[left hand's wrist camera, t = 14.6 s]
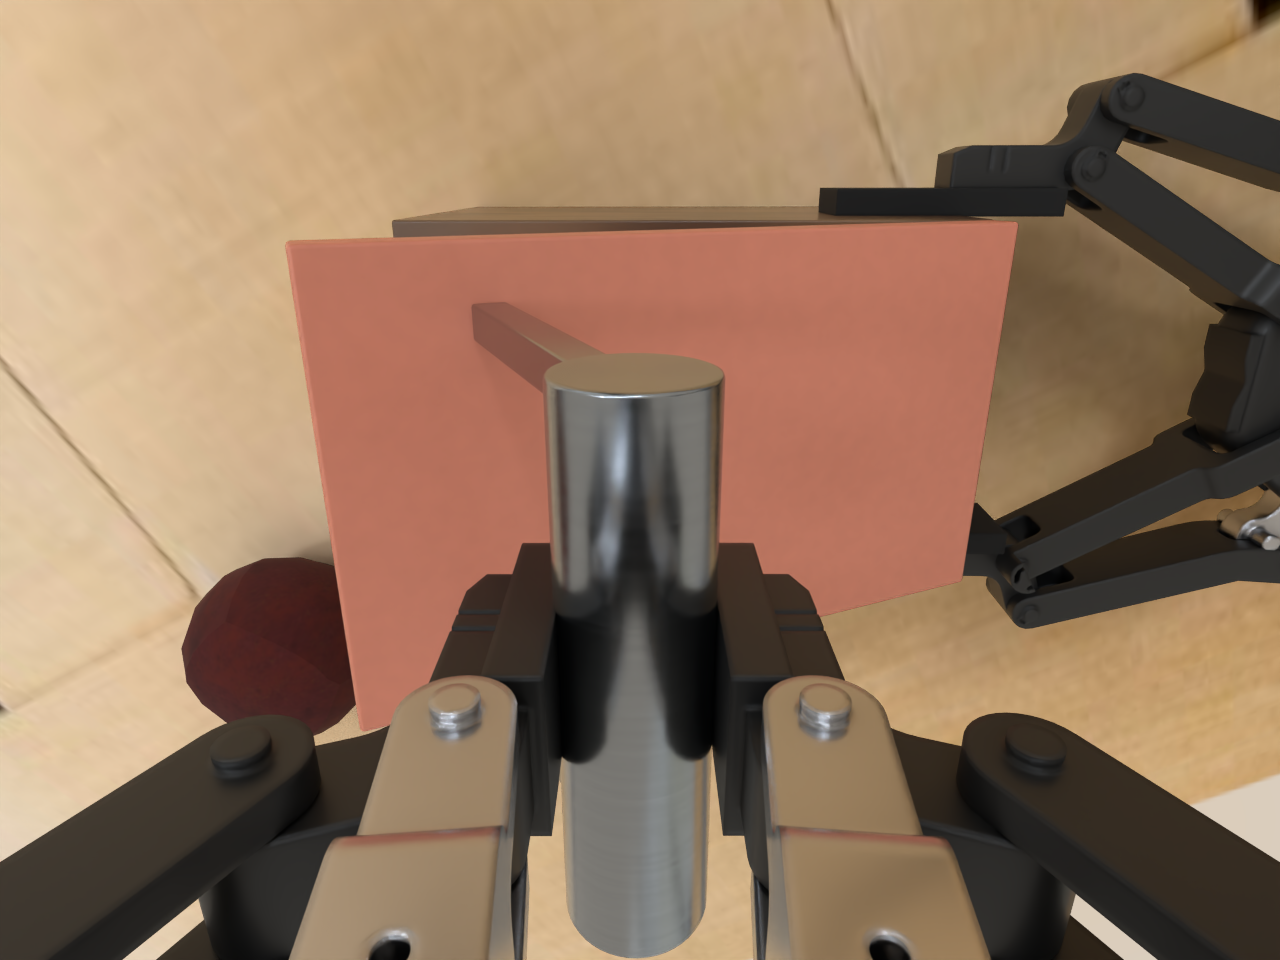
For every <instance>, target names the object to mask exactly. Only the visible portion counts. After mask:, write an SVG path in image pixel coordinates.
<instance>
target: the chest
mask: <svg viewBox="0 0 1280 960" xmlns="http://www.w3.org/2000/svg"><path fill="white" fill-rule="evenodd" d="M818 211H819V207H475V208H468V209H462V210H456V211H449V212H443V213H437V214H430V215H424V216H417V217H411V218H405V219H398V220H393V221H392V227H393V237H394V238H398V237H432V236H466V235H500V234H535V233H569V232H603V231H637V230H672V229H706V228H740V227H774V226H809V225H843V224H877V223H911V222H946V221H980V220H991V219H983V218H975V217H967V216H834V215H829V214H825V213H820V212H818ZM993 221H994V220H993Z"/></svg>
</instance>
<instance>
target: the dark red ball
mask: <svg viewBox="0 0 1280 960" xmlns="http://www.w3.org/2000/svg"><path fill="white" fill-rule="evenodd" d="M181 649H182V655H183V661H184V667H185V674H186V682H187V684H188V685H189V687H190V688H191V689H192V691H193V692H194V693H195V695H196V696H197V698H198V699H199V700H200V702H201V703H202V704H203V705H204V706H206V707H207V708H208V709H210V710H211V711H212V712H213V713H215V714H216V715H217V716H219V717H220V718H221V719H223V720H224V721H225V722H227V723H230V722H232V721H235V720H239V719H243V718H247V717H252V716H258V715H284V716H290V717H293V718H296V719H298V720H300V721H302V722H304V723H305V724H306V725H307V726H308V727H309V728H310V729H311V731H312V733H313V736H314V735H317V734H320V733H322V732H324V731H325V730H327V729H329V728H330V727H332V726H334V725H335V724H337V723H338V722H339V721H340V720H341V719H342V718H343V717H344V716H345V715H346V714H347V713H348V712H349V711H350V710H351V709H352V708H353V707H354V706H355V705H356V701H355V695H354V688H353V682H352V675H351V669H350V662H349V656H348V649H347V643H346V636H345V630H344V623H343V617H342V610H341V604H340V598H339V591H338V585H337V578H336V572H335V566H332V565H328V564H324V563H320V562H316V561H312V560H308V559H304V558H301V557H300V558H267V559H262V560H259V561H257V562H254V563H252V564H249V565H247V566H244V567H242V568H239V569H236V570H235V571H233V572H231V573H229V574H227V575H225V576H224V577H223V578H222V579H221V580H220V581H219V582H218V583H217V584H216V585H215V586H214V587H213V588H212V589H211V590H210V591H209V592H208V593H207V594H206V595H205V596H204V598H203V599H202V600H201V601H200V603H199V604H198V605H197V606H196V607H195V610H194V613H193V616H192V619H191V622H190V625H189V628H188V631H187V634H186V637H185V640H184V642H183V645H182V648H181Z"/></svg>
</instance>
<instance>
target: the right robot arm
mask: <svg viewBox="0 0 1280 960" xmlns="http://www.w3.org/2000/svg"><path fill="white" fill-rule="evenodd" d="M1067 111H1068V117H1067V119H1066V121H1065V123H1064V124H1063V126H1062V128H1061V130H1060V131H1059V133H1058V135H1057V136H1056V137H1055V138H1054V139H1053V140H1051V141H1050V142H1048V143H1047V144H1045V145H972V146H963V147H955V148H953V149H951V150H948V151H946V152H943V153H941V154H938V161H937V169H936V177H935V186H934V188H820V197H819V211H818V212H820V213H825V214H829V215H834V216H1064V210H1065V205H1066V204H1068V205H1069V206H1071V207H1072V208H1074V209H1075V210H1077V211H1078V212H1080V213H1081V214H1083V215H1084V216H1086V217H1087V218H1089V219H1090V220H1091V221H1093V222H1094V223H1096V224H1097V225H1099V226H1100V227H1102V228H1103V229H1105V230H1106V231H1108V232H1109V233H1111V234H1112V235H1114V236H1115V237H1117V238H1118V239H1119V240H1121V241H1122V242H1124V243H1125V244H1127V245H1128V246H1130V247H1131V248H1133V249H1134V250H1136V251H1137V252H1139V253H1140V254H1142V255H1143V256H1145V257H1146V258H1148V259H1149V260H1150V261H1152V262H1153V263H1155V264H1156V265H1158V266H1159V267H1161V268H1162V269H1164V270H1165V271H1167V272H1168V273H1170V274H1171V275H1173V276H1174V277H1176V278H1177V279H1178V280H1180V281H1181V282H1183V283H1184V284H1186V285H1187V286H1189V287H1190V289H1189V290H1190V292H1192V293H1193V294H1194V295H1196V296H1197V297H1199V298H1200V299H1201V300H1203V301H1204V302H1206V303H1207V304H1209V305H1210V306H1212V307H1213V308H1215V309H1216V310H1218V311H1219V312H1221V313H1222V314H1224V316H1223V317H1222V319H1221V320H1220V322H1219V324H1210V325H1209V329H1208V333H1207V337H1206V341H1205V345H1204V365H1205V369H1204V373H1203V374H1202V376H1201V378H1200V380H1199V382H1198V384H1197V386H1196V388H1195V390H1194V391H1193V393H1192V397H1191V401H1190V405H1189V409H1188V413H1187V415H1188V416H1191V417H1193V418H1191V419H1189V420H1186V421H1184V422H1182V423H1180V424H1178V425H1176V426H1174V427H1172V428H1170V429H1168V430H1166V431H1164V432H1161V433H1160V434H1158V435H1157V436H1156V437H1155V438H1154V441H1153V444H1152V445H1151V446H1149V447H1147V448H1145V449H1143V450H1141V451H1139V452H1137V453H1135V454H1133V455H1131V456H1129V457H1126V458H1124V459H1122V460H1120V461H1118V462H1116V463H1114V464H1112V465H1110V466H1108V467H1105V468H1103V469H1101V470H1099V471H1097V472H1095V473H1093V474H1091V475H1089V476H1087V477H1085V478H1082V479H1080V480H1078V481H1076V482H1074V483H1072V484H1070V485H1068V486H1066V487H1064V488H1062V489H1059V490H1057V491H1055V492H1053V493H1051V494H1049V495H1047V496H1045V497H1043V498H1041V499H1038V500H1036V501H1034V502H1032V503H1030V504H1028V505H1026V506H1024V507H1022V508H1020V509H1018V510H1015V511H1013V512H1011V513H1009V514H1007V515H1005V516H1003V517H1001V518H999V519H997V520H993V519H992V518H991V517H990V516H989V515H988V514H987V512H986V511H985V510H984V509H983V508H982V507H981V506H980V505H979V504H978V503H974V507H973V513H972V520H971V526H970V532H969V538H968V545H967V551H966V557H965V564H964V570H963V576H987V579H986V586H987V589H988V590H989V592H990V593H991V594H992V595H993V597H994V598H995V599H996V600H997V602H998V603H999V604H1000V606H1001V607H1002V608H1003V609H1004V611H1005V612H1006V613H1007V614H1008V616H1009V617H1010V618H1011V619H1012V621H1013V622H1014V623H1015V624H1016V625H1017V626H1019V627H1021V628H1024V629H1028V628H1035V627H1040V626H1044V625H1048V624H1053V623H1057V622H1061V621H1066V620H1070V619H1074V618H1079V617H1083V616H1087V615H1092V614H1096V613H1100V612H1105V611H1109V610H1113V609H1118V608H1122V607H1126V606H1131V605H1135V604H1139V603H1144V602H1148V601H1152V600H1157V599H1161V598H1165V597H1170V596H1174V595H1178V594H1183V593H1187V592H1191V591H1196V590H1200V589H1204V588H1209V587H1213V586H1217V585H1222V584H1226V583H1230V582H1235V581H1252V582H1267V583H1280V265H1279V264H1276V263H1274V262H1271V261H1270V260H1268V259H1266V258H1265V257H1264V256H1262V255H1261V254H1259V253H1258V252H1256V251H1255V250H1253V249H1252V248H1251V247H1249V246H1248V245H1246V244H1245V243H1243V242H1242V241H1241V240H1239V239H1238V238H1236V237H1235V236H1233V235H1232V234H1231V233H1229V232H1228V231H1226V230H1225V229H1223V228H1222V227H1221V226H1219V225H1218V224H1216V223H1215V222H1213V221H1212V220H1211V219H1209V218H1208V217H1206V216H1205V215H1203V214H1202V213H1201V212H1199V211H1198V210H1196V209H1195V208H1193V207H1192V206H1191V205H1189V204H1188V203H1186V202H1185V201H1183V200H1182V199H1181V198H1179V197H1178V196H1176V195H1175V194H1173V193H1172V192H1171V191H1169V190H1168V189H1166V188H1165V187H1163V186H1162V185H1161V184H1159V183H1158V182H1156V181H1155V180H1153V179H1152V178H1151V177H1149V176H1148V175H1146V174H1145V173H1143V172H1142V171H1141V170H1139V169H1138V168H1136V167H1135V166H1133V165H1132V164H1130V163H1129V162H1128V161H1126V160H1125V159H1123V158H1122V157H1120V156H1119V155H1118V154H1116V151H1117V149H1118V148H1119V146H1120V144H1121V142H1122V141H1125V142H1128V143H1131V144H1134V145H1137V146H1140V147H1143V148H1146V149H1149V150H1152V151H1155V152H1158V153H1161V154H1164V155H1167V156H1170V157H1173V158H1176V159H1179V160H1182V161H1185V162H1188V163H1191V164H1194V165H1197V166H1200V167H1203V168H1206V169H1209V170H1212V171H1215V172H1218V173H1221V174H1224V175H1227V176H1230V177H1233V178H1236V179H1239V180H1242V181H1245V182H1248V183H1251V184H1254V185H1257V186H1260V187H1263V188H1266V189H1270V190H1274V191H1278V192H1280V121H1279V120H1276V119H1273V118H1270V117H1267V116H1264V115H1261V114H1258V113H1255V112H1252V111H1250V110H1247V109H1244V108H1241V107H1238V106H1235V105H1232V104H1229V103H1226V102H1223V101H1220V100H1217V99H1214V98H1211V97H1208V96H1206V95H1203V94H1200V93H1197V92H1194V91H1191V90H1188V89H1185V88H1182V87H1179V86H1176V85H1173V84H1170V83H1167V82H1164V81H1162V80H1159V79H1156V78H1153V77H1150V76H1147V75H1144V74H1138V73H1132V74H1127V75H1123V76H1118V77H1114V78H1110V79H1105V80H1101V81H1096V82H1092V83H1088V84H1085V85H1082V86H1080V87H1079V88H1078V89H1076V90H1075V91H1074V92H1073V94H1072V95H1071V97H1070V99H1069V102H1068V106H1067ZM1213 449H1214V450H1215V451H1216V452H1215V451H1213ZM1217 452H1218V453H1217ZM1256 486H1259V487H1260V488H1261V489H1263V490H1264V494H1263V496H1262V498H1261V499H1260V500H1259V501H1258V502H1257V503H1256V504H1254V505H1253V506H1250V507H1248V508H1243V509H1237V510H1235V511H1232V510H1231V509H1224V510H1222V511H1221V512H1219V514H1218V515H1217V521H1194V522H1188V523H1182V524H1177V525H1173V526H1169V527H1165V528H1161V529H1157V530H1152V531H1148V532H1144V533H1140V534H1136V535H1132V536H1128V537H1124V536H1126V535H1128V534H1130V533H1132V532H1135V531H1137V530H1139V529H1141V528H1143V527H1145V526H1148V525H1150V524H1152V523H1154V522H1156V521H1159V520H1161V519H1163V518H1165V517H1167V516H1169V515H1172V514H1174V513H1176V512H1178V511H1180V510H1183V509H1185V508H1187V507H1189V506H1191V505H1194V504H1196V503H1198V502H1200V501H1202V500H1205V499H1210V498H1212V499H1225V498H1230V497H1233V496H1236V495H1238V494H1241V493H1243V492H1245V491H1247V490H1249V489H1252V488H1254V487H1256ZM1121 537H1123V538H1121Z"/></svg>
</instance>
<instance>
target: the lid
mask: <svg viewBox="0 0 1280 960" xmlns="http://www.w3.org/2000/svg"><path fill="white" fill-rule="evenodd" d="M1017 230H1018V223H1016V222H1011V221H993V220H980V221H946V222H911V223H877V224H843V225H809V226H774V227H740V228H706V229H672V230H637V231H603V232H569V233H535V234H500V235H466V236H432V237H398V238H363V239H329V240H295V241H288V242H286V245H285V248H286V254H287V261H288V267H289V274H290V280H291V286H292V293H293V299H294V306H295V312H296V319H297V325H298V332H299V338H300V345H301V351H302V358H303V364H304V371H305V377H306V384H307V390H308V397H309V403H310V410H311V416H312V423H313V429H314V436H315V442H316V448H317V455H318V461H319V468H320V474H321V481H322V487H323V494H324V500H325V507H326V513H327V520H328V526H329V533H330V539H331V546H332V552H333V559H334V565H335V572H336V578H337V585H338V591H339V598H340V604H341V610H342V617H343V623H344V630H345V636H346V643H347V649H348V656H349V662H350V669H351V675H352V682H353V688H354V695H355V701H356V708H357V713H358V719H359V725H360V729H361V730H362V731H368V730H372V729H376V728H380V727H384V726H388V725H390V724H391V721H392V717H393V714H394V712H395V710H396V708H397V706H398V705H399V704H400V702H401V701H402V700H403V699H404V698H405V697H406V696H407V695H409V694H410V693H411V692H413V691H414V690H416V689H418V688H419V687H421V686H423V685H425V684H428V683H429V681H430V678H431V676H432V674H433V671H434V669H435V666H436V664H437V661H438V659H439V657H440V654H441V652H442V649H443V647H444V644H445V642H446V640H447V637H448V635H449V632H450V631H452V625H453V622H454V620H455V618H456V615H458V610H459V608H460V605H461V603H462V601H463V598H464V596H465V593H466V591H467V590H468V589H470V588H471V587H472V586H473V585H474V584H476V583H477V582H478V581H479V580H481V579H482V578H483V577H484V576H485V575H487V574H512V573H513V570H514V567H515V564H516V561H517V558H518V554H519V551H520V548H521V545H522V543H550V553H551V575H552V596H553V607H554V610H555V612H556V631H557V654H558V677H559V700H560V723H561V745H562V761H561V768H560V776H559V780H560V782H561V789H562V811H563V832H564V854H565V875H566V897H567V907H568V912H569V915H570V918H571V920H572V922H573V924H574V926H575V927H576V929H577V930H578V931H579V933H580V934H581V935H582V936H583V937H584V938H585V939H586V940H587V941H588V942H589V943H591V944H592V945H593V946H595V947H597V948H598V949H600V950H602V951H604V952H607V953H609V954H612V955H616V956H620V957H626V958H646V957H652V956H657V955H660V954H663V953H666V952H668V951H670V950H672V949H674V948H676V947H677V946H679V945H680V944H682V943H683V942H684V941H685V940H686V939H688V938H689V937H690V935H691V934H692V933H693V932H694V931H695V929H696V928H697V926H698V925H699V923H700V921H701V919H702V917H703V914H704V910H705V906H706V891H707V864H708V837H709V810H710V783H711V756H712V728H713V701H714V674H715V647H716V620H717V592H718V565H719V543H754V546H755V549H756V552H757V555H758V559H759V562H760V565H761V569H762V572H763V574H789V575H790V576H792V577H793V578H794V579H795V580H797V581H798V582H799V583H800V584H801V585H803V586H804V587H805V588H806V589H807V590H809V592H810V594H811V597H812V599H813V602H814V604H815V607H816V609H817V614H819V617H822V616H826V615H830V614H834V613H838V612H842V611H846V610H849V609H853V608H857V607H861V606H865V605H869V604H873V603H877V602H881V601H885V600H889V599H893V598H897V597H901V596H905V595H909V594H913V593H917V592H921V591H925V590H929V589H933V588H937V587H941V586H945V585H949V584H953V583H957V582H960V581H961V580H962V576H963V570H964V564H965V557H966V551H967V545H968V538H969V532H970V526H971V520H972V513H973V507H974V501H975V494H976V488H977V482H978V476H979V469H980V463H981V457H982V450H983V444H984V438H985V432H986V425H987V419H988V413H989V406H990V400H991V394H992V388H993V381H994V375H995V369H996V362H997V356H998V350H999V344H1000V337H1001V331H1002V325H1003V318H1004V312H1005V306H1006V300H1007V293H1008V287H1009V281H1010V274H1011V268H1012V262H1013V256H1014V249H1015V243H1016V237H1017Z"/></svg>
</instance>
